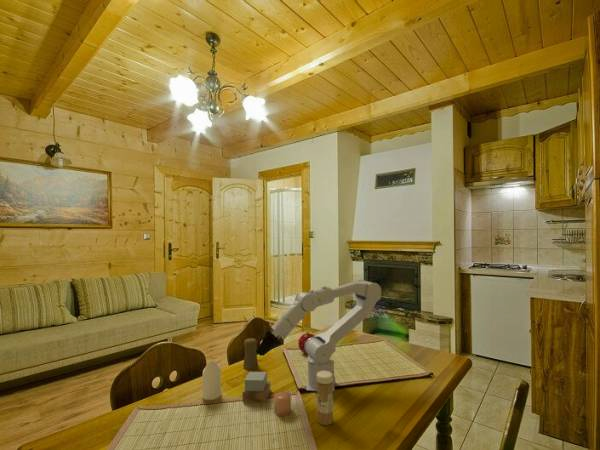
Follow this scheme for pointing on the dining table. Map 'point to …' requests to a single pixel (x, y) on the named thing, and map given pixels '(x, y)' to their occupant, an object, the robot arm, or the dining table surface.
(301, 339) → the christmas ornament
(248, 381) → the slate-grey block
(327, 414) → the sprinkles bottle
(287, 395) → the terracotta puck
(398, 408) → the dining table surface
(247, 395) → the walnut slab
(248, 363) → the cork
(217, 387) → the cream domed cylinder
